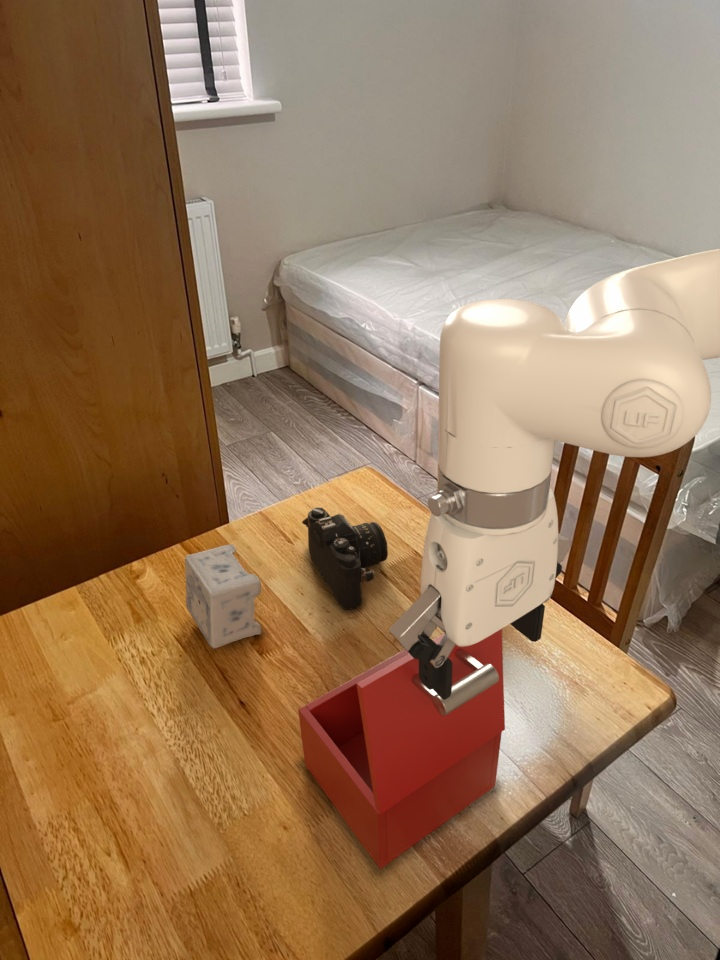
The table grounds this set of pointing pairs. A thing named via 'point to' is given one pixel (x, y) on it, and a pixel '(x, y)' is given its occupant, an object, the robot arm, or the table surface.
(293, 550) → the table surface
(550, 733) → the table surface
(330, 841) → the table surface
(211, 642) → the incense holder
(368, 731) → the lid
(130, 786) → the table surface
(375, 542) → the film camera
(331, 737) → the chest
